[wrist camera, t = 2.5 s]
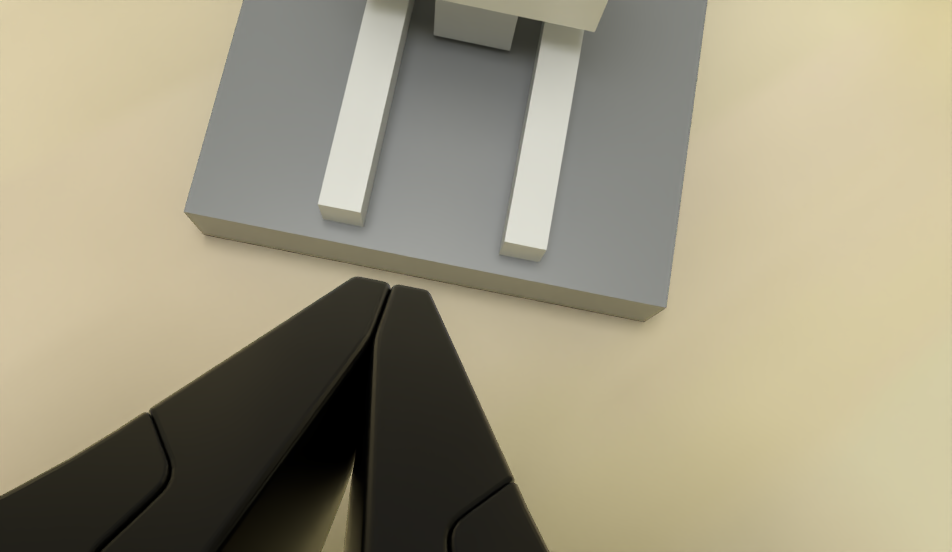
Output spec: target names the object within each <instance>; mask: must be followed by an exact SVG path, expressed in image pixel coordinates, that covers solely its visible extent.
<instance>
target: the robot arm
mask: <svg viewBox="0 0 952 552" xmlns="http://www.w3.org/2000/svg"><path fill="white" fill-rule="evenodd" d="M353 464H354V467H353ZM352 468H353V473H352V480H351V487H350V495H349V504H348V513H347V523H346V532H345V542H344V551H343V552H549V550H548V548H547V546H546V544H545V542H544V540H543V538H542V536H541V534H540V532H539V530H538V528H537V526H536V524H535V522H534V520H533V518H532V516H531V514H530V512H529V510H528V508H527V506H526V503H525V501H524V499H523V497H522V494H521V492H520V490H519V488H518V486H517V484H515V483H514V477H513V475H512V473H511V471H510V469H509V466H508V464H507V462H506V460H505V458H504V455H503V453H502V451H501V449H500V447H499V444H498V442H497V440H496V438H495V435H494V433H493V431H492V429H491V427H490V424H489V422H488V420H487V418H486V416H485V413H484V411H483V409H482V407H481V405H480V402H479V400H478V398H477V396H476V394H475V391H474V389H473V387H472V385H471V383H470V380H469V378H468V376H467V374H466V372H465V369H464V367H463V365H462V363H461V360H460V358H459V356H458V354H457V352H456V349H455V347H454V345H453V343H452V341H451V338H450V336H449V334H448V332H447V330H446V327H445V325H444V323H443V321H442V319H441V316H440V314H439V312H438V310H437V308H436V305H435V303H434V301H433V299H432V297H431V295H430V293H429V292H428V291H427V290H424V289H418V288H413V287H408V286H403V285H395V286H393V287H392V288H390V285H389V284H388V283H386V282H383V281H378V280H373V279H368V278H363V277H353V278H351V279H350V280H348V281H346V282H345V283H343V284H342V285H340V286H339V287H337V288H336V289H334V290H333V291H331V292H329V293H328V294H326V295H325V296H323V297H322V298H320V299H319V300H317V301H316V302H314V303H312V304H311V305H309V306H308V307H306V308H305V309H303V310H302V311H300V312H299V313H297V314H295V315H294V316H292V317H291V318H289V319H288V320H286V321H285V322H283V323H282V324H280V325H278V326H277V327H275V328H274V329H272V330H271V331H269V332H268V333H266V334H265V335H263V336H261V337H260V338H258V339H257V340H255V341H254V342H252V343H251V344H249V345H248V346H246V347H244V348H243V349H241V350H240V351H238V352H237V353H235V354H234V355H232V356H231V357H229V358H228V359H226V360H224V361H223V362H221V363H220V364H218V365H217V366H215V367H214V368H212V369H211V370H209V371H207V372H206V373H204V374H203V375H201V376H200V377H198V378H197V379H195V380H194V381H192V382H190V383H189V384H187V385H186V386H184V387H183V388H181V389H180V390H178V391H177V392H175V393H173V394H172V395H170V396H169V397H167V398H166V399H164V400H163V401H161V402H160V403H158V404H156V405H155V406H153V407H152V408H151V409H150V410H149V413H146V412H145V413H142V414H140V415H139V416H137V417H136V418H134V419H133V420H131V421H130V422H128V423H127V424H125V425H123V426H122V427H120V428H119V429H117V430H116V431H114V432H112V433H111V434H109V435H108V436H106V437H104V438H103V439H101V440H99V441H98V442H96V443H94V444H93V445H91V446H89V447H88V448H86V449H85V450H83V451H81V452H80V453H78V454H76V455H75V456H73V457H71V458H70V459H68V460H66V461H64V462H62V463H61V464H59V465H57V466H55V467H53V468H51V469H50V470H48V471H46V472H44V473H42V474H40V475H38V476H37V477H35V478H33V479H31V480H29V481H27V482H26V483H24V484H22V485H20V486H18V487H16V488H15V489H13V490H11V491H9V492H7V493H5V494H3V495H1V496H0V552H321V551H322V548H323V546H324V543H325V541H326V538H327V535H328V533H329V530H330V528H331V525H332V523H333V520H334V518H335V515H336V513H337V510H338V507H339V505H340V502H341V500H342V497H343V495H344V492H345V489H346V486H347V484H348V481H349V478H350V475H351V471H352Z"/></svg>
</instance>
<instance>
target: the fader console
mask: <svg viewBox="0 0 952 552" xmlns="http://www.w3.org/2000/svg"><path fill="white" fill-rule="evenodd" d="M706 7H707V0H608V2H607V4H606V7H605V9H604V11H603V14H602V16H601V18H600V21H599V23H598V26H597V28H596V30H595V32H591V31H587V30H582V29H577V28H572V27H567V26H563V25H558V24H553V23H548V22H544V21H539V20H534V19H529V18H525V17H520V16H518V19H517V23H516V27H515V32H514V36H513V40H512V44H511V48H510V51H508V50H503V49H498V48H494V47H489V46H484V45H479V44H474V43H470V42H465V41H460V40H455V39H450V38H446V37H441V36H436V35H434V18H435V0H243V3H242V7H241V10H240V14H239V17H238V21H237V24H236V28H235V32H234V35H233V39H232V42H231V46H230V49H229V53H228V56H227V60H226V63H225V67H224V71H223V74H222V78H221V81H220V85H219V88H218V92H217V95H216V99H215V103H214V106H213V110H212V113H211V117H210V120H209V124H208V127H207V131H206V134H205V138H204V142H203V145H202V149H201V152H200V156H199V159H198V163H197V166H196V170H195V173H194V177H193V181H192V184H191V188H190V191H189V195H188V198H187V202H186V205H185V209H184V213H185V214H186V215H187V216H188V217H189V218H190V219H191V221H192V222H193V223H194V224H195V225H196V226H197V227H198V229H199V230H200V231H201V232H202V233H203V234H205V235H210V236H215V237H220V238H225V239H230V240H235V241H240V242H245V243H250V244H255V245H260V246H265V247H270V248H275V249H280V250H285V251H290V252H295V253H300V254H305V255H310V256H315V257H320V258H325V259H331V260H336V261H341V262H346V263H351V264H356V265H361V266H366V267H371V268H376V269H381V270H386V271H391V272H396V273H401V274H406V275H411V276H416V277H421V278H426V279H431V280H436V281H441V282H446V283H451V284H456V285H461V286H467V287H472V288H477V289H482V290H487V291H492V292H497V293H502V294H507V295H512V296H517V297H522V298H527V299H532V300H537V301H542V302H547V303H552V304H557V305H562V306H567V307H572V308H577V309H582V310H587V311H592V312H598V313H603V314H608V315H613V316H618V317H623V318H628V319H633V320H638V321H643V322H645V321H646V320H648V319H649V318H651V317H653V316H654V315H656V314H657V313H659V312H661V311H662V310H664V309H665V308H666V307H667V299H668V292H669V284H670V277H671V269H672V262H673V254H674V247H675V239H676V232H677V224H678V217H679V209H680V202H681V194H682V187H683V179H684V172H685V164H686V157H687V149H688V142H689V134H690V127H691V119H692V112H693V104H694V97H695V89H696V82H697V75H698V67H699V60H700V52H701V45H702V37H703V30H704V22H705V15H706Z"/></svg>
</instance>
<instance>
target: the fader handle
mask: <svg viewBox="0 0 952 552" xmlns="http://www.w3.org/2000/svg"><path fill="white" fill-rule="evenodd" d="M607 2H608V0H435V18H434V35H436V36H441V37H446V38H450V39H455V40H460V41H465V42H470V43H474V44H479V45H484V46H489V47H494V48H498V49H503V50H508V51H510V48H511V44H512V40H513V36H514V32H515V27H516V23H517V19H518V16H520V17H525V18H529V19H534V20H539V21H544V22H548V23H553V24H558V25H563V26H567V27H572V28H577V29H582V30H587V31H591V32H595V30H596V28H597V26H598V23H599V21H600V18H601V16H602V14H603V11H604V9H605V7H606V4H607Z"/></svg>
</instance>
